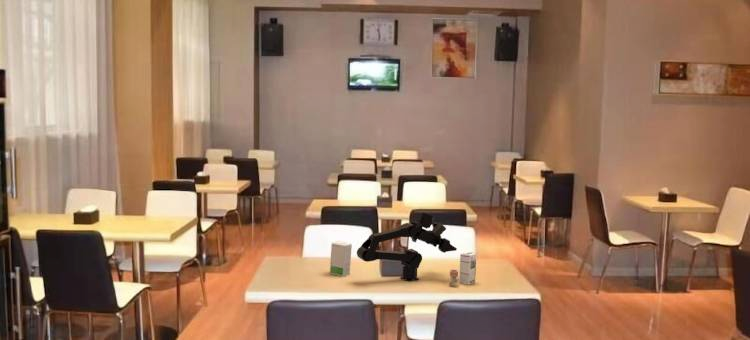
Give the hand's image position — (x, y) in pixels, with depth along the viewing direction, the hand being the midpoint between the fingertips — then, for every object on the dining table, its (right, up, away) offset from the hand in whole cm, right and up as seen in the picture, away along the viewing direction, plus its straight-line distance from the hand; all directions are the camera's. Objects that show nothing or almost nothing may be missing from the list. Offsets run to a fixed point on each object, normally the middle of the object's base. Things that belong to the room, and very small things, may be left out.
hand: (452, 246), depth 342 cm
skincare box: (-55, -13, -2) cm, 57 cm away
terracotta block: (0, -15, -2) cm, 16 cm away
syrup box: (+6, -16, -8) cm, 19 cm away
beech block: (-1, -17, -15) cm, 22 cm away
